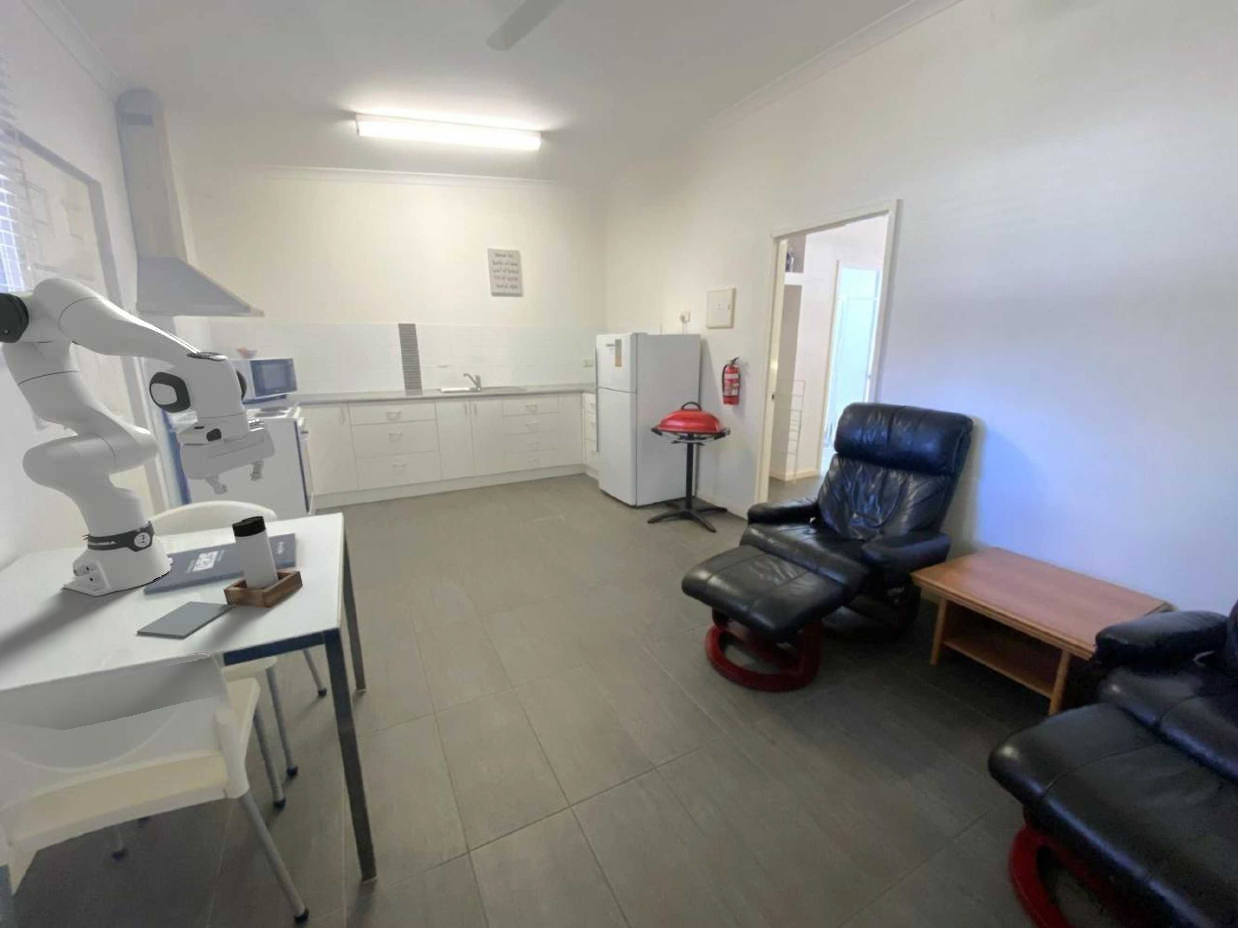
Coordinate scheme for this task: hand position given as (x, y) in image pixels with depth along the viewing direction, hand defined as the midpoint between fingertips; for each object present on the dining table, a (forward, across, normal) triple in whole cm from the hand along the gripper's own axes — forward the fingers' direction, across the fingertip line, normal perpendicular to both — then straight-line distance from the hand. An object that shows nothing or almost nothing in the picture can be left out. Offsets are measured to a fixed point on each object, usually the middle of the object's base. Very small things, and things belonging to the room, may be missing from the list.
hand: (240, 486), depth 117 cm
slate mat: (+28, +12, -9) cm, 32 cm away
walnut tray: (+28, 0, 0) cm, 28 cm away
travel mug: (+28, 0, 0) cm, 28 cm away
